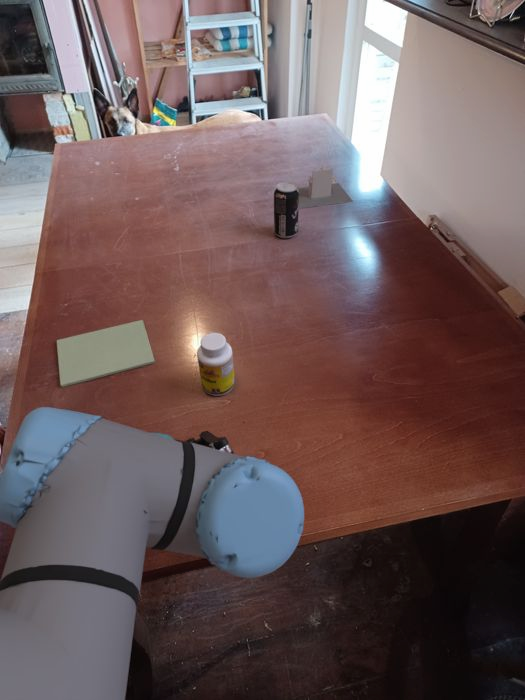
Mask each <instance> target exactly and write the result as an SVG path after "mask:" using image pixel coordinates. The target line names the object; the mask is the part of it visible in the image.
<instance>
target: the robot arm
mask: <svg viewBox="0 0 525 700" xmlns="http://www.w3.org/2000/svg"><path fill="white" fill-rule="evenodd" d="M152 433H153V432H149V431H145V430H143V429H138V428H136V427H132V426H129V425H126V424H122V423H119V422H116V421H112V420H109V419H106V418H104V417H103V416H101V415H95V414H90V413H85V412H80V411H75V410H70V409H62V408H57V407H56V408H55V407H49V406H41V407H37V408H35V409H33V410H31V411H30V412H29V413H27V414H26V416H24V418H23V420H22V421H21V423H20V426H19V429H18V431H17V434H16V437H15V439H14V441H13V443H12V446H11V448H10V452H9V453H8V454H9V455H8V456H7V460H6V462H5V465H4V466H3V467H4V468H3V470H2V472H1V474H0V522H1V523H3V524H6V525H9V526H11V527H12V528H13V529H15V532H14V535H13V537H12V542H11V544H10V548H9V552H8V555H7V558H6V560H5V565H4V567H3V572H2V574H1V577H0V700H126V695H127V688H128V687H127V686H128V678H129V672H130V671H129V670H130V664H131V663H130V662H131V654H132V647H133V638H134V630H135V621H136V615H137V614H136V613H137V610H138V606H139V598H140V594H141V588H142V587H141V586H142V579H143V571H144V564H145V557H146V549H150V550H155V551H165V552H171V553H176V554H183V555H187V556H192V557H198V558H203V559H207V560H208V563H209V564H210V565H214V566H215V568H216V569H217V570H219V571H223V572H226V573H228V574H230V575H233V576H235V577H238V578H242V579H243V578H244V579H253V578H256V579H257V578H260V577H265V575H269V574H271V573H273V572H275V571H276V570H277V569H280V567H282V566H283V565H284V564H285V563H286V562H287V561H288V560H289V559H290V558H291V556H292V555H293V554H294V552H295V550H296V549H297V547H298V545H299V542H300V540H301V536H302V534H303V531H304V525H305V506H304V500H303V497H302V494H301V492H300V489H299V487H298V485H297V483H296V482H295V480H294V479H293V478H292V477H291V476H290V474H289V473H287V471H285V470H283V469H282V468H280V467H278V466H277V465H274V464H272V463H270V462H269V461H268V460H266V459H263V458H257V457H254V456H248V455H245V456H243V455H239V454H236V453H234V450H233V449H232V447H231V445H230V443H229V440H228V438H227V437H226V436H221V437H218V436H216V435H215V434H213V433H212V432H211V431H209V430H204V431H201V433H200V434H199V435H198V436H199V438H197V439H195V437H190V438H188V439H186V440H182V439H181V440H180V439H176V438H173V439H174V440H172V439H169V438H165V437H162V436H159V435H155V434H152ZM175 440H176V441H175Z"/></svg>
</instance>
